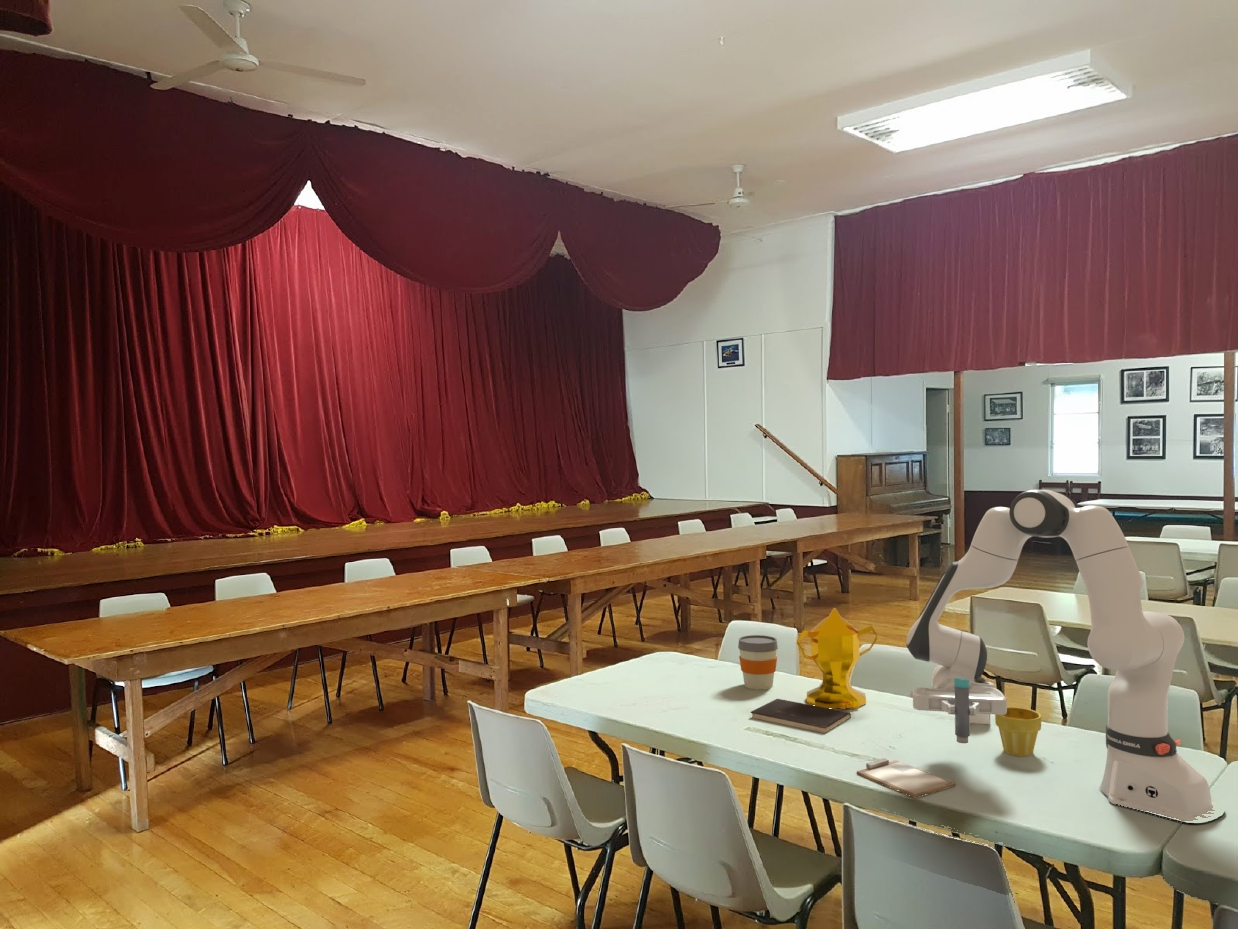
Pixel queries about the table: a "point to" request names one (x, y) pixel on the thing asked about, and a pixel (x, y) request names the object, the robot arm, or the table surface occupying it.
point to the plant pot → (1019, 730)
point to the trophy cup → (835, 661)
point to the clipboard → (904, 777)
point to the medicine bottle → (980, 715)
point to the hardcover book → (800, 715)
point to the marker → (962, 709)
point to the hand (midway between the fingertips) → (962, 711)
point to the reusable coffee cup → (758, 660)
